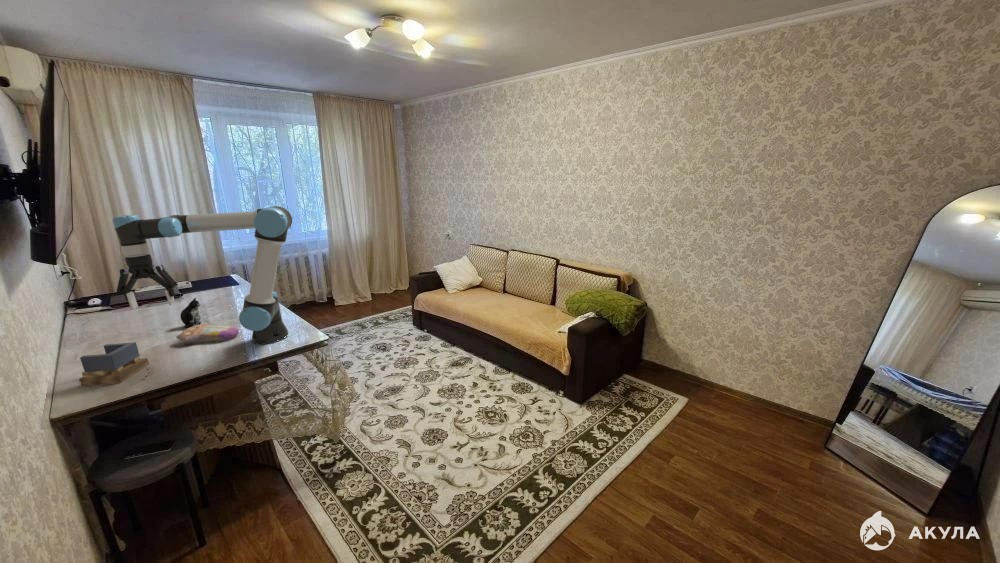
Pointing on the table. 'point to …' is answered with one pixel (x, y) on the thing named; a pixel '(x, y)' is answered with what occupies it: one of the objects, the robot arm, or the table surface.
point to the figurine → (191, 314)
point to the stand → (114, 373)
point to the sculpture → (207, 333)
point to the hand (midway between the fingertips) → (153, 306)
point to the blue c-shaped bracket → (110, 357)
